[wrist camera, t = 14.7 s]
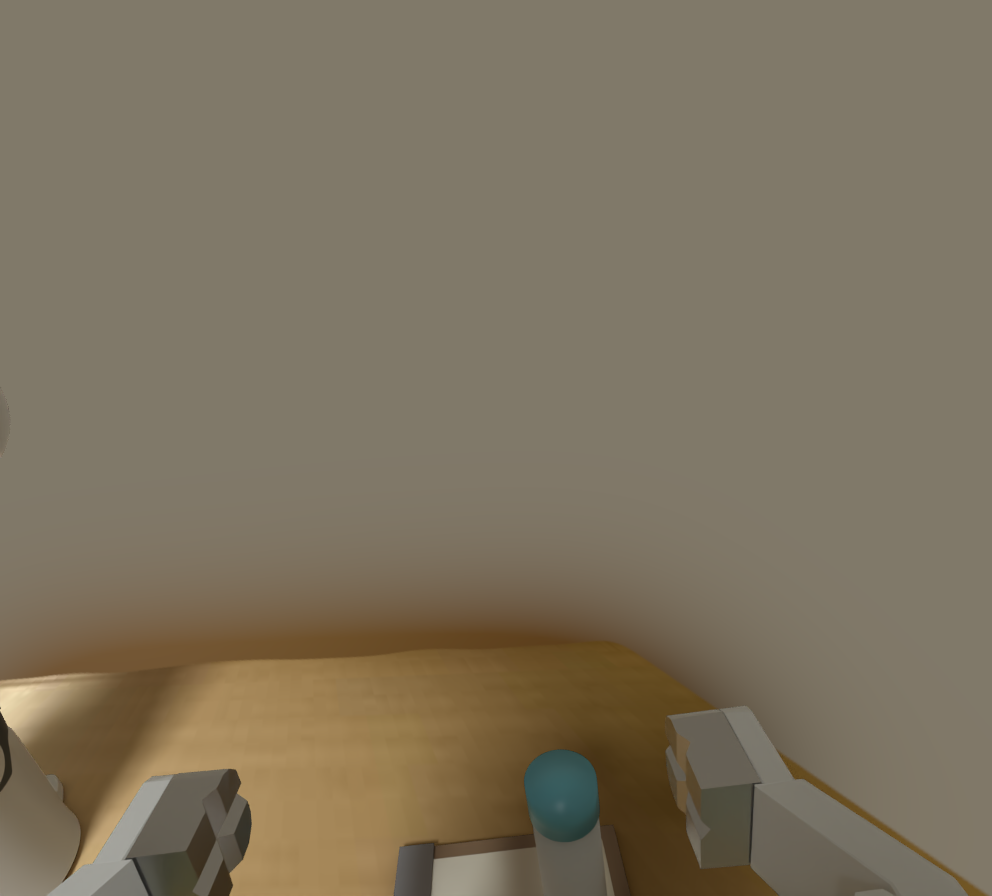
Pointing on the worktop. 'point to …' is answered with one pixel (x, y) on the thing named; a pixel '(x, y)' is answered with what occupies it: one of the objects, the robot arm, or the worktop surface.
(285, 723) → the worktop surface
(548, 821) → the water bottle
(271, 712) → the worktop surface
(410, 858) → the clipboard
